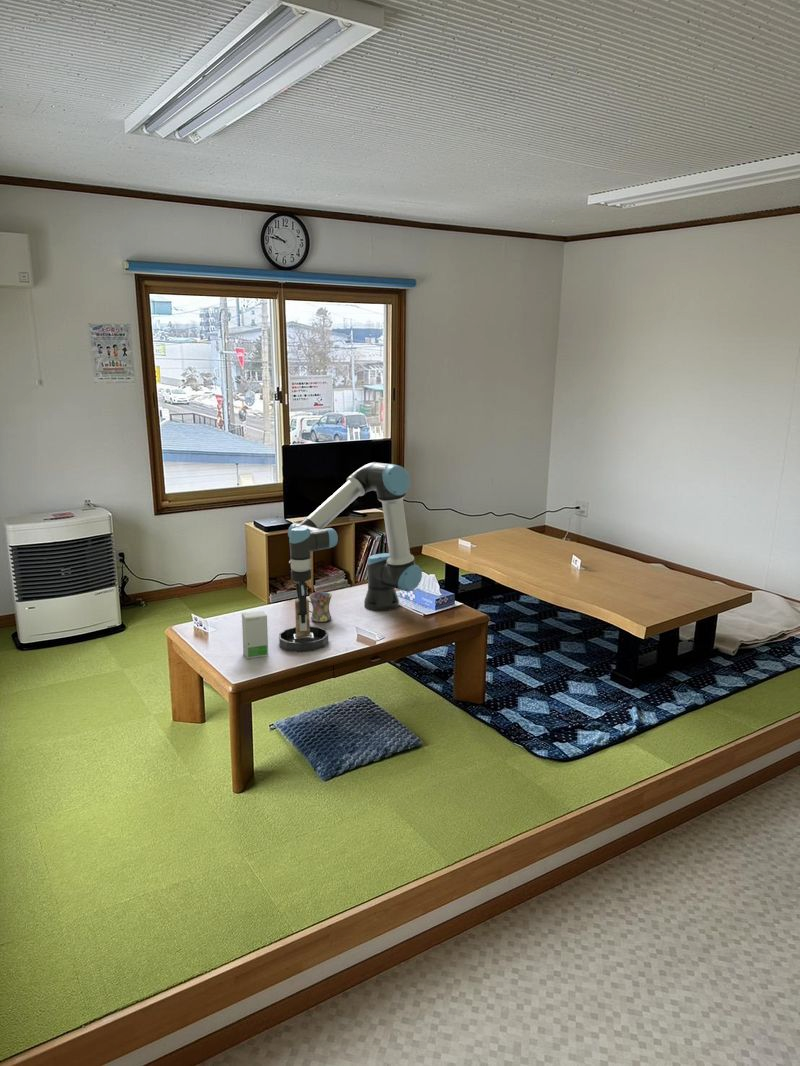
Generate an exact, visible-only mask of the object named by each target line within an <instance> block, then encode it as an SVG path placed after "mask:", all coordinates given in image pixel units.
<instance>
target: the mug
mask: <svg viewBox="0 0 800 1066" xmlns="http://www.w3.org/2000/svg"><path fill="white" fill-rule="evenodd" d="M308 597H309V598H308V599H309V603H311V605H312V611H311V610H309V613H311V617H310V619H311V621H313V622H317V623H324V622H325V623H326V622H328V621H330V620H331V619H332V615H331V613H330V602H331V598H332V597H333V595H332V594H331V593H330V592H325V591H324V592H323V591H320V592H319V591H318V592H313V593H311V594H309V596H308Z"/></svg>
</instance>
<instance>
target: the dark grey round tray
mask: <svg viewBox="0 0 800 1066" xmlns="http://www.w3.org/2000/svg"><path fill="white" fill-rule="evenodd" d="M310 633H313V636H314V641H313V642H304V643H296V642H294V641H293V640H294V634H296V626H295V627H290V628H287V629H284V630H283V631H281V632H280V633H279V634H278V643H279V648H281V649H282V650H283V651H284V650H285V651H286V652H291V653H292V652H293V653H308V652H309V653H311V652H314V651H315V652H316V651H319V650H321V649H324V648H325V647H326V646H327V645H329V634H328V630H327V629H324V628H322V627H320V626H311V625H310Z"/></svg>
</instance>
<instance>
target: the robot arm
mask: <svg viewBox="0 0 800 1066" xmlns="http://www.w3.org/2000/svg"><path fill="white" fill-rule="evenodd" d="M410 485H411V481H410V474H409V473H408V471H407V469H405V467H403V466H401V465H398V464H396V463H395V464H394V463H384V462H378V461H377V462H376V461H373V462H369V463H367V464H364V465H362V466H361V467H359V468H358V469H357V470H355V471H354V472H353V473H351V474H350V475H349V476H348V477H347V478H346V482H345V483H343V484H342V485H341V487H339V488H338V489H337V490H335V492H333V494H332V495H330V496H329V497H328V498H327V499H326V500H325V501H323V502H322V503H321V505H318V507H316V509H315V510H314V511H313V512H311V513H310V514H309V515H308V516H306V518H304V519H303V520H302V521H300V522H294V523H292V524H290V526H289V527H288V529H287V537H288V538H289V539H288V540H289V541H288V543H289V553H290V554H289V556H290V558H289V559H290V560H289V561H288V564H290V569H291V570H290V579H291V581H293V582H296V583H295V588H296V594H297V599H299V610H300V613H298V615H299V624H300V631H307V604H306V598H307V596H308V584H307V581H310V580H311V579H312V569H311V568H312V555H311V554H312V553H311V552H316V551H321V550H327V549H332V548H334V547H335V546H337V545H338V541H339V540H338V539H339V537H338V533H337V531H336V530H335V529H334V528H331V527H326V526H327V525H329V524H330V523H331V522H332V521H333V520H335V519H336V517H338V515H340V513H342V512H343V511H344V510H345V509H347V508H348V507H349V505H350V504H351V505H352V503H353V502H354V501H355V500H356V499H357V498H358V497H362V496H365V495H366V494H367V493H368V492H371V491H373V492H376V495H377V496H376V497H377V500H378V501H379V502H380V503H381V505H382V512H383V520H384V525H385V526H384V527H385V532H386V533H385V534H386V539H387V546H388V552H387V553H386V552H384V553H376V554H373V555H370V556H368V557H367V565H366V566H367V592H366V594H365V598H364V603H363V604H364V608H366V609H367V610H370V611H375V612H386V611H387V612H388V611H392V610H396V609H397V608H399V605H400V599H399V596H398V594H397V591H396V590H397V589H398V590H399V591H401V592H402V591H403V592H413V591H414V590H415V589H417V587H418V586H419V585H420V583H421V581H422V577H423V572H422V568H421V567H420V566H419V565H418V564H416V561H415V556H414V555H413V554H411V551H410V550H411V549H410V544H409V536H408V529H407V520H406V514H405V506H404V499H405V497H406V496H407V492H408V490H409V487H410Z"/></svg>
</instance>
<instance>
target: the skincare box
mask: <svg viewBox="0 0 800 1066" xmlns="http://www.w3.org/2000/svg"><path fill="white" fill-rule="evenodd" d="M241 624H242V625H241V627H242V628H241V629H242V653H243V655H244V657H246V659H247V660H250V659H256V658H262V657H269V635H268V634H269V633H268V632H269V631H268V615H267V614H266V613H265V611H263V610H261V611H260V610H259V611H251V612H242V613H241Z"/></svg>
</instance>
